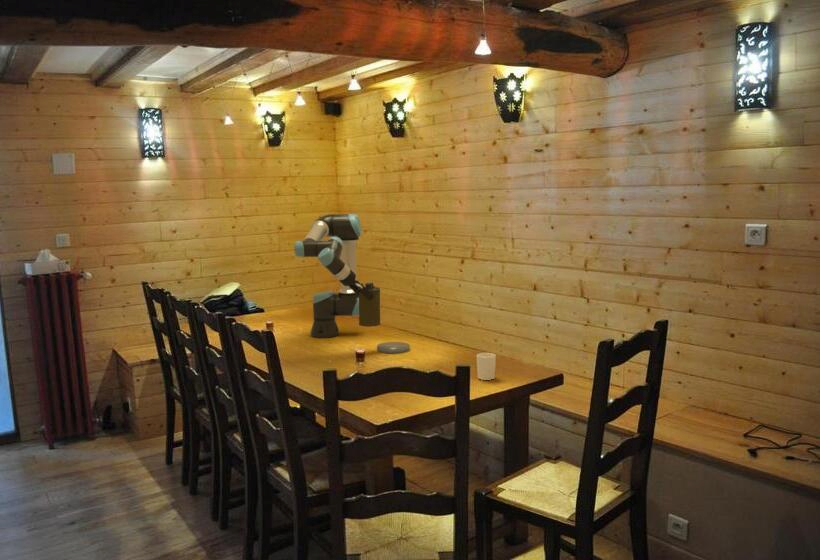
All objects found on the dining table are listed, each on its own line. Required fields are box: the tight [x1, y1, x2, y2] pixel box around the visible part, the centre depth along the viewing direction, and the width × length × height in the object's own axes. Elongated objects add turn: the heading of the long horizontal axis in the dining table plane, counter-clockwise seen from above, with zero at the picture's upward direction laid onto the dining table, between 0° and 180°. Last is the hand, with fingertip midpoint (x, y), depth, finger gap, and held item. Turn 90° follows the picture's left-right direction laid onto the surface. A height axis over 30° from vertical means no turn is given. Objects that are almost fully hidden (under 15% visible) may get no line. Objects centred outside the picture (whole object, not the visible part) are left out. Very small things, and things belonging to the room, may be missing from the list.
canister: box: [358, 282, 381, 328], centre depth 321 cm, size 11×10×20 cm
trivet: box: [376, 341, 411, 355], centre depth 329 cm, size 16×16×2 cm
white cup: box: [476, 352, 497, 381], centre depth 279 cm, size 8×8×10 cm
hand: (376, 306), depth 324 cm, fingers open, 4 cm apart
